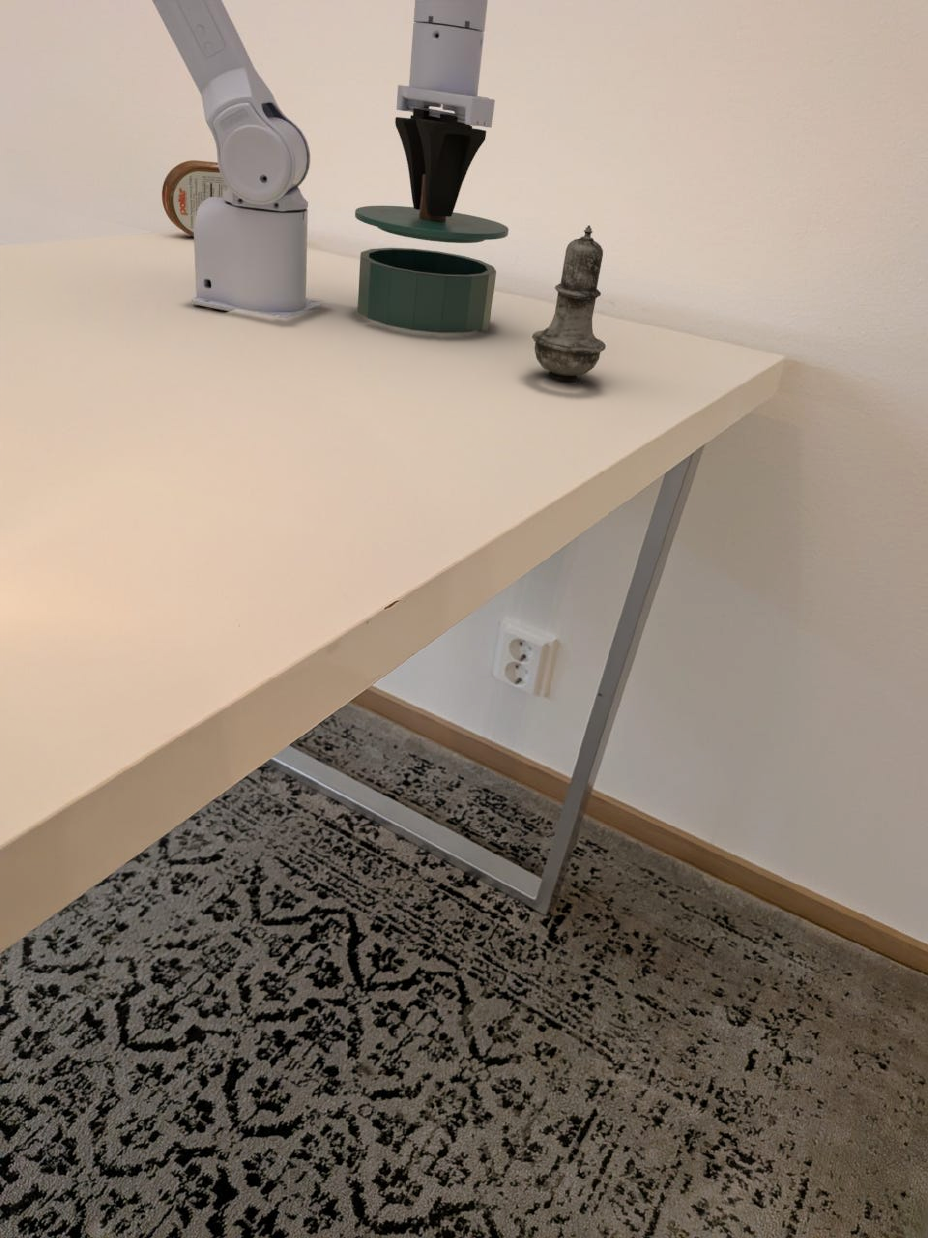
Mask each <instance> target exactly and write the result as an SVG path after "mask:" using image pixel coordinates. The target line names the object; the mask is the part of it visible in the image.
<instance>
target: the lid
mask: <svg viewBox="0 0 928 1238" xmlns="http://www.w3.org/2000/svg"><path fill="white" fill-rule="evenodd" d="M354 218H355V219H356V220H358V221H359V222H361V223H364V224H367V225H369V226H373V227H376V228H377V229H378V230H381V231H383V232H385V233H388V234H393V235H396V236H400V237H404V238H409V239H416V240H422V241H430V242H438V243H452V244H476V243H482V242H485V241H491V240H500V239H505V238H506V237H508V235H509V231H510V230H509V227H508V226H507V225H504V224H503V223H500V222H498V221H495V220H491V219H489V218H484V217H480V216H477V215H470V214H466V213H460V212H454V211H453V213H452V216H451V217H448V216H432V215H429V214H428V213H427V207H426V173H423V174H422V186H421V199H420V210H416V209H414V207H413V206H403V205H402V206H401V205H366V206H360V207H358V208H356V209H355V210H354Z"/></svg>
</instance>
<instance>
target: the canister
mask: <svg viewBox="0 0 928 1238" xmlns="http://www.w3.org/2000/svg"><path fill="white" fill-rule="evenodd" d="M496 277H497V270H496V269H495V267H494V266H493V265H491V264H489V263H488V262H484V261H483V260H481V259H476V258H472V257H468V256H466V255H465V256H464V255H461V254H455V253H450V252H443V251H438V250H429V249H420V248H408V247H407V248H406V247H378V248H370V249H367V250H363V251H361V252H360V256H359V275H358V294H357V296H358V297H357V312H358V313H359V314H360V315H362V316H364V317H365V318H366V319H369V320H371V321H375V322H377V323H380V324H383V325H387V326H390V327H391V326H392V327H397V328H402V329H407V330H411V331H420V332H429V333H430V332H431V333H441V334H445V333H446V334H447V333H448V334H449V333H469V332H480V333H487V331H488V330H489V327H490V324H491V316H492V309H493V300H494V293H495V292H494V291H495V284H496Z"/></svg>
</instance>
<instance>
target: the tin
mask: <svg viewBox="0 0 928 1238" xmlns="http://www.w3.org/2000/svg"><path fill="white" fill-rule="evenodd" d="M228 189H229V188H228V186H227V185H226V183H225V182H224V180H223V178H222V176H221V173H220V170H219V166H218V161H216V162H215V161H206V160H195V159H194V160H186V161H183V162H180V163H178V164H177V165H176V166H174V167H173V168H171V170H170V171H169V172H168V173H167V175H166V177H165V178H164V181H163V184H162V189H161V200H162V206H163V209H164V213H165V214H166V216H167V218H169V220H170V221H171V223H172V224H173V225H174V226H176V228H178V229H179V230H181V231H182V232H183V233H185V234H187V235H189V236H191V237H194V224H195V218H196V214H197V211H198V208H199V206H200V205H201V203H202V202H203V201H204V200H206V199H207V198H209V197H221V198H223V192H224V191H226V190H228Z"/></svg>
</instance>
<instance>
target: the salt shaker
mask: <svg viewBox="0 0 928 1238" xmlns="http://www.w3.org/2000/svg"><path fill="white" fill-rule="evenodd" d="M592 230H593V229H592V227H591V225H587V226H586V227H585V229H583V232H584V235H582V236H581V237H579V238H576V239H573V240H572V241H570V242H569V243H568V244H567V247H566V248H565V254H564V261H563V266H562V271H561V279H560V283H557V284H556V285H554V290H555V291H556V292H557V296H556V303H555V310H554V314H553V317H552V319H551V321H550V324H549V326H548V327H546V328H545V329H542V330H538V331H535V332H534V333H533V334H532V335H531V338H532V340H533V342H534V348H533V349H534V354H535V357H536V360H537V362H538V363H539V365H540V366H541V367H542V368H543V369H544V370H547V371H548V378H549V379H551V380H553V381H556V382H560V383H575V382H576V381H577V380H578V376H583V375H586V374H587V373H588V372H590V371H591V370H593V369H594V368H595V366H597V363H598V362H599V360H600V356H601V353H602V352H603V351H605V350H606V347H607V346H606V344H605V342H604V341H603V340H601V339H599V338H596V336H595V334H594V330H593V317H594V311H595V306H596V299H597V298H599V297H601V295H602V294H601V293H602V292H601V291H600V290H598V284H599V278H600V273H601V268H602V263H603V258H604V250H603V247H602V246H601V244H600V243H599V242H597V241H595V239H594V238H593V237H591V236H592V235H591V234H592V233H593V231H592Z"/></svg>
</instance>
